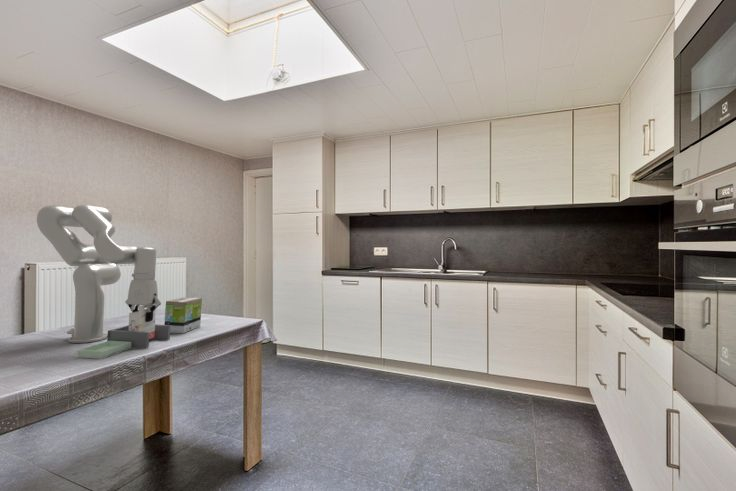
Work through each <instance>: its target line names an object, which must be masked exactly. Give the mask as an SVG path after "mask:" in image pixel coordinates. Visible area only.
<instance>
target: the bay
mask: <svg viewBox="0 0 736 491" xmlns="http://www.w3.org/2000/svg"><path fill="white" fill-rule="evenodd" d="M150 340H160V341H161V340H164V341H169V340H171V333H170V325H164V324H156V323H155V337H154V338H151V339H149V332H136V331H129V324H128V325H123V326H121V327H115V328H113V329H109V330H107V338H106V341H126V342H131V348H132V349H133V348H136V349H148V348H149V347H150V346H149V342H150Z"/></svg>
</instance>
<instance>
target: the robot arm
mask: <svg viewBox="0 0 736 491" xmlns="http://www.w3.org/2000/svg"><path fill="white" fill-rule="evenodd" d="M112 220H113V215H112V213H111V211H110V210H109V209H107V208H106V207H102V206H97V205H91V204H80V205H77V206H75V207H73V206H72V207H70V206H66V205H56V204H55V205H46V206H43V207H41V209H39V211H38V212H37V215H36V224H37V227H38V229H39V231H40V233H41V234H42V235H43V236H44V237H45V238H46V239H47V240H48V242H50V244H51V245H53V248H54V249H55V250H56V252H57V253H58V254H59V256H60V258H61V259H63V261H64V262H65V263H66V264H67V265H68V266H70V267H74V268H75V267H77V268H76V269H74V271H73V274H72V280H73V286H74V293H75V294H74V295H75V296H74V325H73V328H70V329H69V330H67V331H66V334H67V335H71V337H69V338H68V342H69V343H72V344H87V343H94V342H98V341H103V340H107V335H108V333H105V332H104V318H105V315H104V314H105V312H104V311H105V294H104V291H103V289H102V287H101V286H109V285H113V284H116V283H117V282H118V281H119V280H120V279H121V275H122V274H121V273H122V272H121V270H120V267H119V266H118V265H132V264H133V273H132V274H131V277H132V278H133V279H131V281H130V283H129V288H128V294H127V299H126V300H125V304H126V306H127V307H128V308H129V310H130V312H131V313H132V312H137V311H139V306H143V305H146V309H147V311H148V312H146V322H149V321H152V320H153V311H156V310H157V308H158V307H159V306H161V305H162V302H161V301H160V300H159V298H158V294H159V292H158V283H157V280H156V266H157V249H156V248H154V247H145V246H135V245H118V244H116V243H115V242H114V241H113V240H112V239H111V237H112V236H113V235H114V234H115V232H116V227H115V225H113V223H112ZM67 227H74V228H83V229H84V230H85V231H86V232H87V234H89V235H90V236H91V237H92V238H93V244H86V243H83V242H82V241H81V240H80V239H79V238H78V237H77V235H76V234H75V233H74V232H73V231H71V230H70V229H68V228H67ZM154 304H155V305H154ZM150 307H151V308H150Z"/></svg>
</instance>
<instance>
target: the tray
mask: <svg viewBox="0 0 736 491" xmlns="http://www.w3.org/2000/svg"><path fill="white" fill-rule="evenodd" d="M130 349H132V347H131V342H126V341H107V340H106V341H102V342H98V343H95V344H92V345H90V346H87V347H84V348H79V349H78V350H77V353H76V357H77V358H80V359H81V358H86V359H98V358H99V359H101V360H102V359H105V358H108V357H111V356H114V355H116V354H119V353H121V352H125V351H127V350H130Z"/></svg>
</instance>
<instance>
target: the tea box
mask: <svg viewBox="0 0 736 491" xmlns="http://www.w3.org/2000/svg"><path fill="white" fill-rule="evenodd" d="M202 301H203V299H202V298H201V297H186V296H185V297H180V298H174V299H171V300H170V299H169V300H166V301H165V309H164V310H165V312H164V322H163V323H164V324H163V325H170V334H185V333H188V332H189V331H192V330H194V329H197V328H200V327H201V320H202V303H203V302H202Z"/></svg>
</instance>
